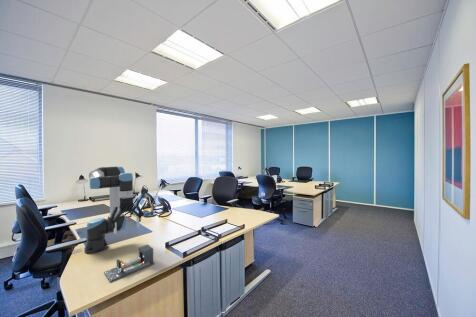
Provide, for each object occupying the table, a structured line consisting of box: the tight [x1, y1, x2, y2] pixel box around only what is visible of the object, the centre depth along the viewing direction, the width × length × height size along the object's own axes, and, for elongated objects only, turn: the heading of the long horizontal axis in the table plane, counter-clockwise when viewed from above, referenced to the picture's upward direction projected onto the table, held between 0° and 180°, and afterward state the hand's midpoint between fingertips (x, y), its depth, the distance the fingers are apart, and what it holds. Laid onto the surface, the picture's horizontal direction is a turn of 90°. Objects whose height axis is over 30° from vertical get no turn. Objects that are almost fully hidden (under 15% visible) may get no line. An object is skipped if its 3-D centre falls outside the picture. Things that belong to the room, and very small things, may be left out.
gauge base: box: [103, 244, 156, 283], centre depth 128 cm, size 13×26×10 cm, turn 137°
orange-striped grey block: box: [115, 257, 141, 271], centre depth 127 cm, size 9×13×6 cm
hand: (127, 230), depth 127 cm, fingers open, 13 cm apart
